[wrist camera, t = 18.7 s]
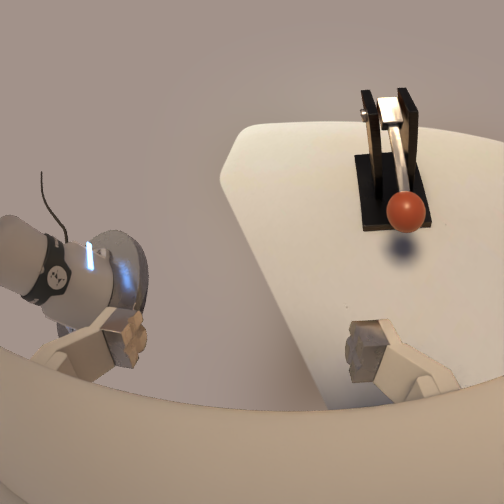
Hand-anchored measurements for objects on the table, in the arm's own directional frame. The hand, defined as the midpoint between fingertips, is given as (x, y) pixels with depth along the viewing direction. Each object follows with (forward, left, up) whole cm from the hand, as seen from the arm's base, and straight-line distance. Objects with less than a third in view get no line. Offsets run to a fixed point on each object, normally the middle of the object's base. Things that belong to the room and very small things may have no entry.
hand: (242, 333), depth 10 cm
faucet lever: (+6, +20, -13) cm, 24 cm away
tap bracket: (+5, +23, -22) cm, 32 cm away
